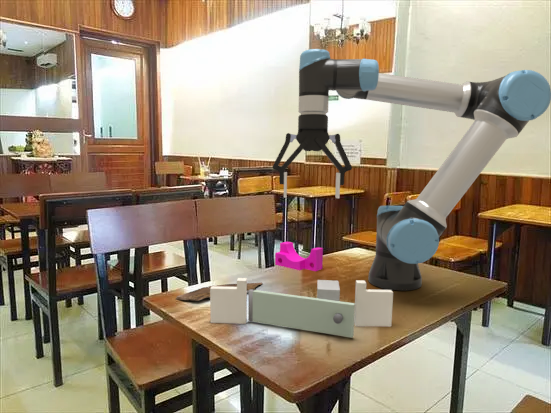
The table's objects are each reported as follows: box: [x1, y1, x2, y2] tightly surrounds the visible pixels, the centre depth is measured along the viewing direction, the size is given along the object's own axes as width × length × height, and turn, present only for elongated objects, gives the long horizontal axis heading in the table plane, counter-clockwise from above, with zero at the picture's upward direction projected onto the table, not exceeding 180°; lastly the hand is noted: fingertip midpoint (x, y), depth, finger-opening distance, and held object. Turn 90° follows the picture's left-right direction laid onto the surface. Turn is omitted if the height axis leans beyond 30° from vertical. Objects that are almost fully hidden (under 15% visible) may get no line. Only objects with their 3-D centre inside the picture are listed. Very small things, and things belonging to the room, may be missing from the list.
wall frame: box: [209, 277, 394, 328], centre depth 94 cm, size 41×2×10 cm, turn 89°
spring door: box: [247, 289, 355, 339], centre depth 90 cm, size 24×3×7 cm, turn 70°
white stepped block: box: [316, 279, 341, 301], centre depth 95 cm, size 5×12×8 cm, turn 174°
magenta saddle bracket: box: [274, 241, 324, 272], centre depth 139 cm, size 15×6×8 cm, turn 51°
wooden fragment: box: [175, 282, 263, 302], centre depth 115 cm, size 26×11×1 cm, turn 120°
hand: (311, 197), depth 109 cm, fingers open, 13 cm apart
